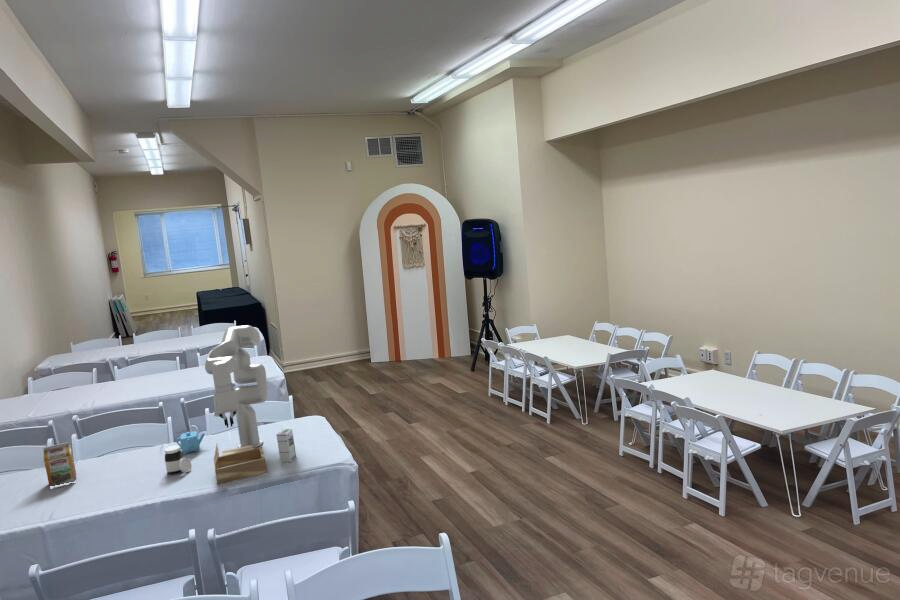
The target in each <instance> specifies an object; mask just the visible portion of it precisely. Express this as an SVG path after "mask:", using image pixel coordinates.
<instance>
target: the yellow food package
mask: <svg viewBox="0 0 900 600" xmlns="http://www.w3.org/2000/svg"><path fill="white" fill-rule="evenodd" d="M42 449H43V462H44V467H45V472H46V477H47V480H48V486H49V488H50V486H55V485H60V484H64V483H69V482H74V481H75V480H76V481H77V477H76V475H77V471H76V466H75V461H74V456H73V449H72V447H71V445H70V442H63V443H59V444H53V445H50V446H44V447H43V448H42Z"/></svg>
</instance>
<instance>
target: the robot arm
mask: <svg viewBox="0 0 900 600" xmlns="http://www.w3.org/2000/svg"><path fill="white" fill-rule="evenodd" d="M260 341H261V335H260V333H259V331H258V330H257V328H255V327H253V326H252V325H249V324H247V325H246V324H245V325H237V326H230V327H228V328H226V329H225V330H224V333H223V337H222V340H221V342H220V343H219V344H218V345H217V346H214V348H212V349H211V350H210V351H209V352H208V354H207V356H206V359H205V362H204V363H205V364H204V370H205V372H206V373H207V374H208V375H212V377H213V384H214V392H213V405H214V414H213V416H214V417H220V419H222V420H223V422H224V426H226V428H229V424H230V428H231V427H233V426H234V417H235V416H236V417H235V418H236V422H237V431H238V438H239V443H238V444H237V448H240V447H245V446H249V445H252V447H253V449H255V448H259V447H262V445H263V443H264V440H263V439H261V438H260V435H259V430H258V429H259V428H258V422H257V414H256V410H255V409H254V407H253V406H252V405H255V404H256V405H257V404H262V403H265V402H266V401H267V399H268V388H267V386H268V385H267V383H268V382H267V370H266V368H265V366H264V365H263V364H262V363H254V364H253V363H252V364H251V355H250V353H248V351H247V349H245V348H247V347H255V346H258V345H259V344H260ZM232 373H233V380H234V383H233V382H232V376H231V374H232ZM255 383H256V384H255ZM236 384H237V385H240V386H237V387H236ZM248 384H251V385H248ZM252 384H253V385H252ZM241 385H243V386H241ZM226 413H229V421H228V417H227V416H226Z"/></svg>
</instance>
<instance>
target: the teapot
mask: <svg viewBox="0 0 900 600" xmlns="http://www.w3.org/2000/svg"><path fill="white" fill-rule="evenodd" d="M198 435H199V434H198V433H197V431H196V430H194V431H187V432H184V433H181V434H180V436H179V437H177V438H176V440H175V442H176V444H177V445H178V446H180V450H181V451H182V454H184V455H188V454H189V453H192V452H194V453H199V450H200V447H201V445H200V444H202V443H201V442H202V441H203V439H204V437H205V435H206V434H205V432H203V433H201V435H200V436H198ZM179 440H180V442H179Z"/></svg>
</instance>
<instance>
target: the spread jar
mask: <svg viewBox="0 0 900 600" xmlns="http://www.w3.org/2000/svg"><path fill="white" fill-rule="evenodd" d="M180 448H181V447H180V446H179V445H178V444H177V445H171V446H167V447H166V448H164V465H165V468H166V469H165V471H166V473H167V474H168V475H175V474H176V475H177V474H179V473H185V474H186V473H188V472H191V470H192V468H193V466H192V461H191V460H190V459H189V458H187V457H184V456H183V454H184V453H182V450H181V449H180Z"/></svg>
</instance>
